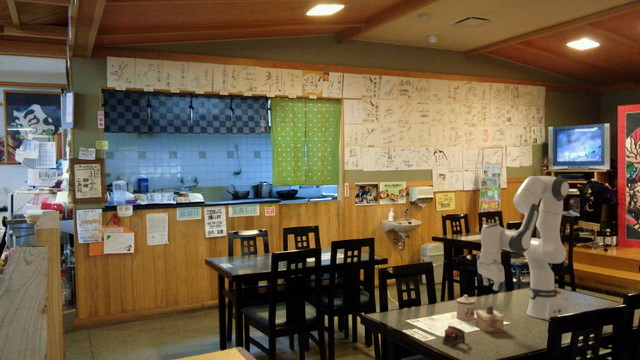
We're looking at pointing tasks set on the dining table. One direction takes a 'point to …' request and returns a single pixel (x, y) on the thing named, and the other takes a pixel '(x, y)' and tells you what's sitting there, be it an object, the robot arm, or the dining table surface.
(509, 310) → the dining table surface
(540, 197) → the robot arm
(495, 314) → the lid
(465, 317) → the teacup with lid
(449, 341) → the brown lumpy figurine
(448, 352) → the dining table surface
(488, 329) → the box body
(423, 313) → the dining table surface
